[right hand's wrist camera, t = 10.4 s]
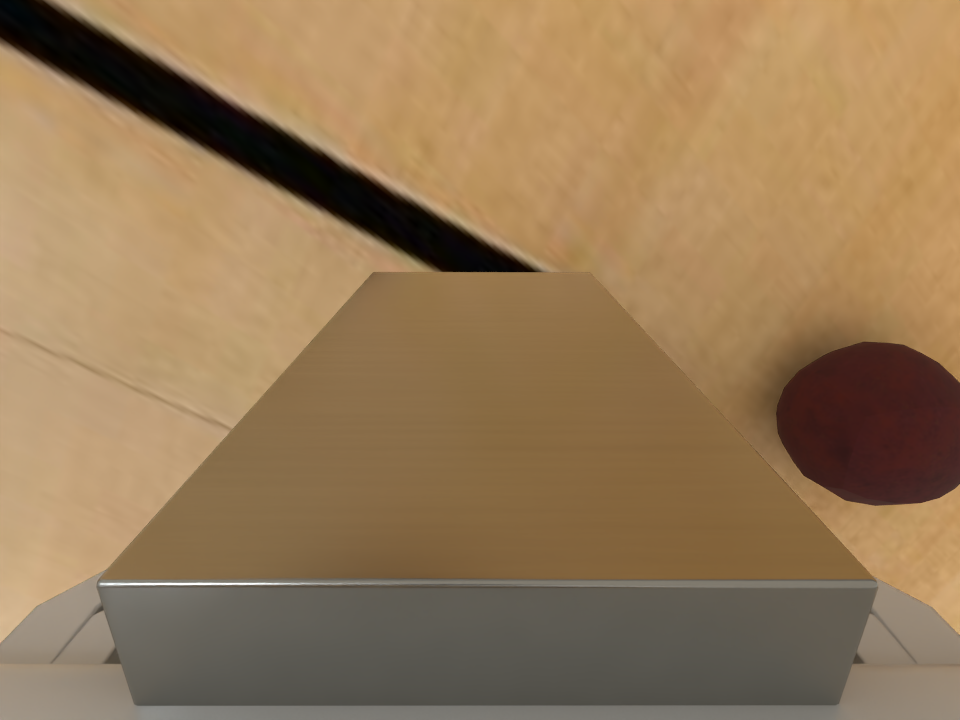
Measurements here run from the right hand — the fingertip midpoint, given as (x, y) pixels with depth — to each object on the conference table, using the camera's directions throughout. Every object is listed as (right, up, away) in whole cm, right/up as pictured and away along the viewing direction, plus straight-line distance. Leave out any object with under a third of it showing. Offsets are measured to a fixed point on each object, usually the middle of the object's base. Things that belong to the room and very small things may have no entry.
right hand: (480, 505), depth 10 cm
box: (0, -5, +9) cm, 11 cm away
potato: (+18, +1, +18) cm, 25 cm away
